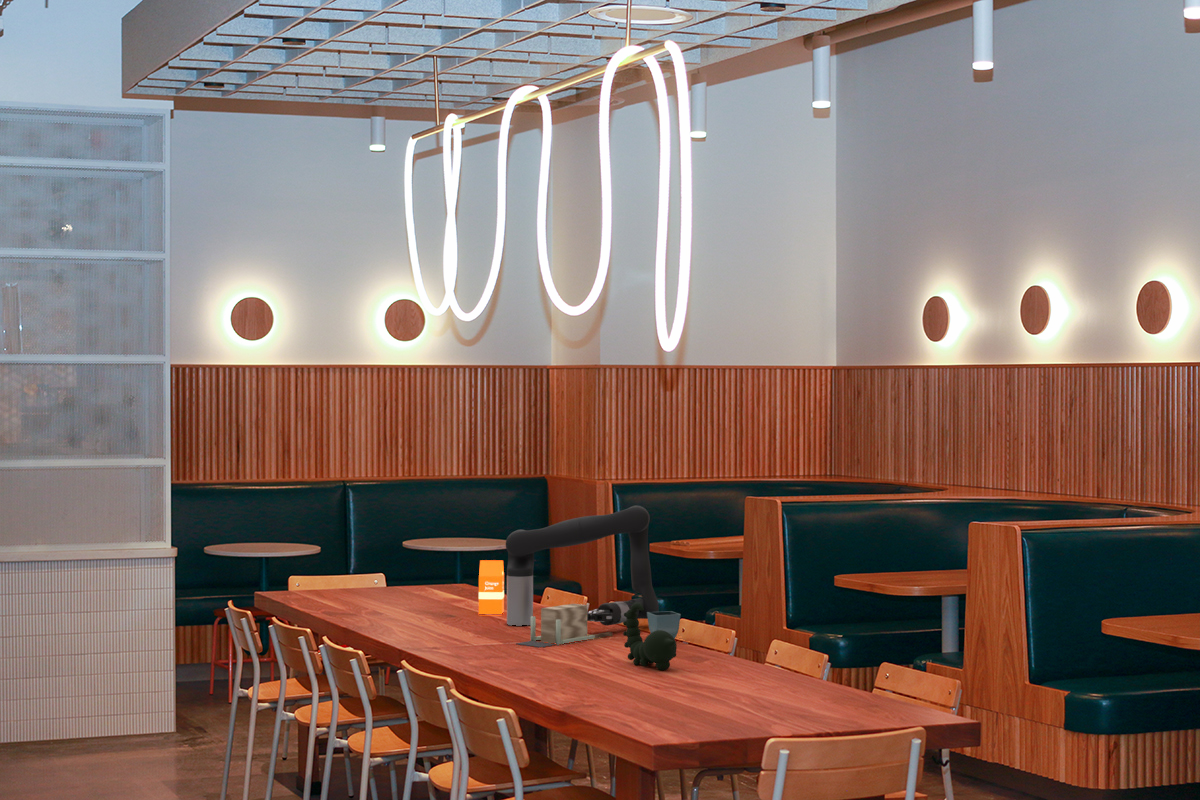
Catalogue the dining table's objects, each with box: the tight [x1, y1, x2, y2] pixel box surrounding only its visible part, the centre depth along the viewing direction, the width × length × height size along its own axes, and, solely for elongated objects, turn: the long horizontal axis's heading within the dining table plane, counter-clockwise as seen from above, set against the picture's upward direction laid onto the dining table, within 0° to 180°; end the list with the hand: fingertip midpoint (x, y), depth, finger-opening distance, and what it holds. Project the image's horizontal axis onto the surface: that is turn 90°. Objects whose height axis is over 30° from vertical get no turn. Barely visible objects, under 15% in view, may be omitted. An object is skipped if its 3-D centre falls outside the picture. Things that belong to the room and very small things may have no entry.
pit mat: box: [515, 640, 557, 648], centre depth 436 cm, size 7×11×1 cm, turn 50°
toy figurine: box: [622, 603, 678, 671], centre depth 397 cm, size 9×19×25 cm
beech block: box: [540, 603, 588, 644], centre depth 447 cm, size 16×6×11 cm, turn 140°
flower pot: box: [647, 610, 681, 640], centre depth 446 cm, size 9×9×9 cm
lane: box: [593, 631, 613, 639], centre depth 456 cm, size 9×13×1 cm
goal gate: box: [530, 615, 595, 646], centre depth 446 cm, size 18×13×8 cm
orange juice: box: [478, 559, 505, 615], centre depth 511 cm, size 8×9×20 cm
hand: (580, 618), depth 453 cm, fingers closed
